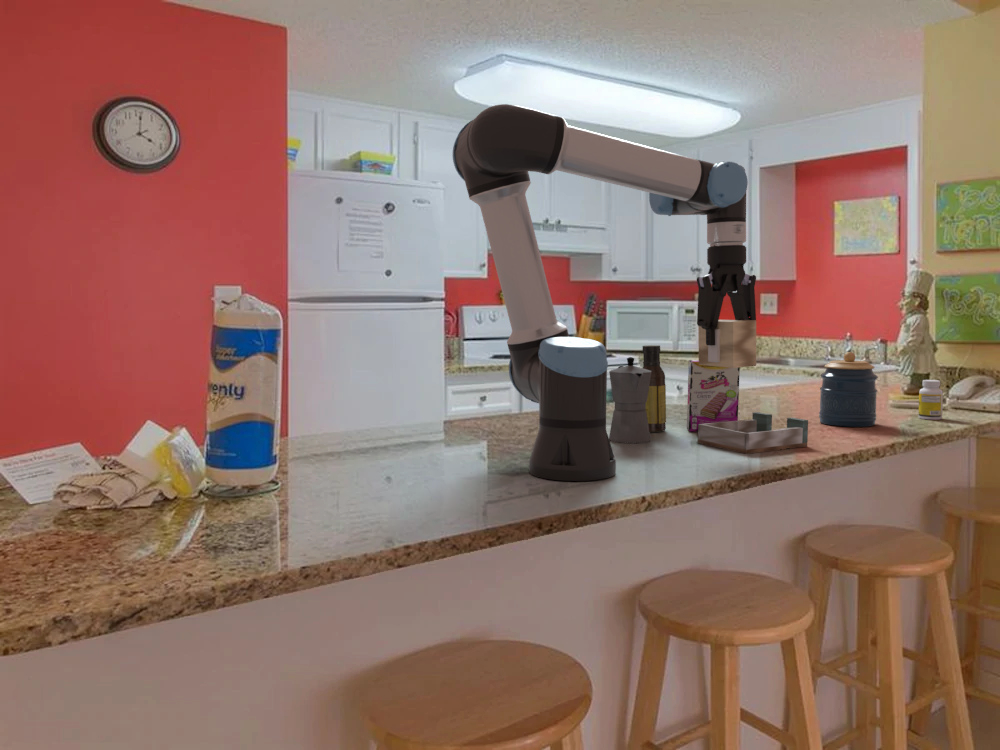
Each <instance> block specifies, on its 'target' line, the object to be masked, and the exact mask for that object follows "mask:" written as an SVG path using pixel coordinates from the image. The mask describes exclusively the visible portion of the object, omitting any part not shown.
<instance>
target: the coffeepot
mask: <svg viewBox="0 0 1000 750" xmlns="http://www.w3.org/2000/svg"><path fill="white" fill-rule="evenodd" d="M626 360H627V365H625V366H624V365H620V366H618V367H617V368H615V369H611V370H609V373H608V374H609V380H610V388H611V394H612V395H611V397H612V401H613V402H614V409H613V412H612V419H611V423H610V424H611V425H610V429H609V435H608V438H609V441H610V442H614V443H617V444H645V443H646V444H647V443H649V442H650V440H651V432H649V426H648V419H647V412H646V410H645V409H646V402H647V398H648V391H649V385H650V378H651V372H652V371H650V370H647V369H643V367H640V366H636V365H634V362H635V357H631V356H629V357H627V358H626Z"/></svg>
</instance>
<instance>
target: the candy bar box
mask: <svg viewBox="0 0 1000 750" xmlns="http://www.w3.org/2000/svg"><path fill="white" fill-rule="evenodd" d="M740 370H741V367H738V368H729V367H718V366H707V365H699V359H689V360H688V376H687V405H686V407H687V409H686V429H687V430H688V432H694V433H695V432H697V433H698V424H707V423H718V422H728V421H739V403H740V401H739V399H740V398H739V397H740V394H739V393H740V392H739V391H740V375H741V374H740Z"/></svg>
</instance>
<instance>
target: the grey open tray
mask: <svg viewBox="0 0 1000 750" xmlns="http://www.w3.org/2000/svg"><path fill="white" fill-rule="evenodd" d="M772 422H773V414H772V413H767V412H759V411H756V412H752V415H751V419H741V420H739V419H738V421H728V422H718V423H707V424H698V432H697V444H702V445H705V446H711V447H715V448H718V449H723V450H728V451H731V452H733V451H734V452H736V453H741V454H745V455H747V454H754V453H755V454H756V453H762V452H772V451H779V450H780V449H782V450H787V449H786V448H790V449H796V448H795V447H799V448H805V447H808V443H809V442H808V441H809V440H808V436H809V435H808V434H809V419H803V418H798V417H797V418H796V417H787V418H786V427H785V428H778V429H774V430H773V429H772V428H773V423H772ZM780 451H781V450H780Z"/></svg>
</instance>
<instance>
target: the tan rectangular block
mask: <svg viewBox="0 0 1000 750" xmlns="http://www.w3.org/2000/svg"><path fill="white" fill-rule="evenodd" d="M711 322H712V321H711ZM716 329H720V362H708V345H706V330H705V329H703V328H702V327H701V326H698V360H699V365H707V366H718V367H729V368H738V367H740V368H749V367H757V319H756V320H735V319H719V320H718V324H717V328H716Z"/></svg>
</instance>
